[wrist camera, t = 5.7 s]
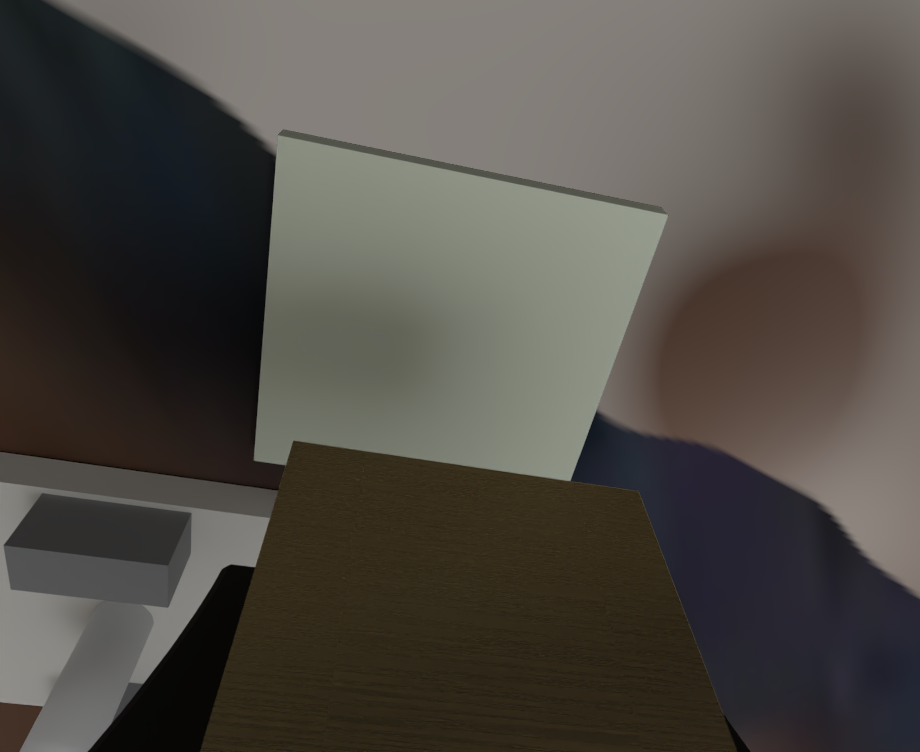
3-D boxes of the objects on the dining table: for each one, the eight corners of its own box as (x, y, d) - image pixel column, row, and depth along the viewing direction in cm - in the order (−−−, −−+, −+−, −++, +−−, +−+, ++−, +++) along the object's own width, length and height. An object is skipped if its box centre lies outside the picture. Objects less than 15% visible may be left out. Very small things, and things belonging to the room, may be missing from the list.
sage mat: (661, 207, 17) (668, 215, 16) (558, 491, 21) (561, 505, 21) (283, 129, 16) (278, 135, 15) (258, 447, 20) (253, 460, 20)
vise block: (339, 499, 21) (309, 661, 16) (307, 700, 26) (277, 871, 21) (-88, 439, 20) (-263, 599, 15) (-35, 665, 25) (-153, 841, 20)
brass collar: (638, 490, 10) (785, 878, 6) (547, 700, 13) (604, 1080, 8) (292, 440, 10) (175, 835, 5) (269, 671, 12) (175, 1067, 8)
